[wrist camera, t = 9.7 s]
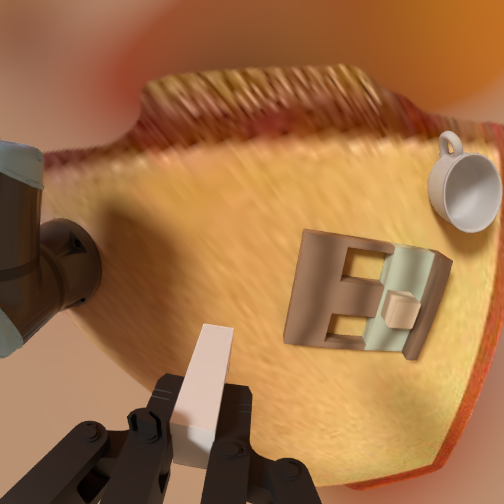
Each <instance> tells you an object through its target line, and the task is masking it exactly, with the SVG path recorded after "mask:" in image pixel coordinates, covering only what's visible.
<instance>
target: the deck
mask: <svg viewBox="0 0 504 504" xmlns="http://www.w3.org/2000/svg"><path fill="white" fill-rule="evenodd" d="M348 247H352V248H359V249H365V250H372V251H378V252H385V253H386V257H385V261H384V265H383V268H382V272H381V276H380V280H374V279H366V278H358V277H350V276H342V271H343V266H344V262H345V258H346V253H347V249H348ZM452 263H453V261H452V260H451V259H449V258H448V257H446V256H445V255H443V254H442V253H440V252H438V251H436V250H431V249H425V248H420V247H414V246H408V245H403V244H397V243H391V242H385V241H379V240H373V239H367V238H361V237H355V236H348V235H342V234H336V233H329V232H323V231H316V230H309V229H303V234H302V240H301V245H300V251H299V256H298V262H297V267H296V273H295V278H294V283H293V288H292V293H291V298H290V303H289V308H288V313H287V318H286V323H285V328H284V333H283V340H284V344H294V345H304V346H315V347H327V348H340V349H356V350H376V351H401V352H402V353H403V355H404V357H405V358H406V360H417V358H418V356H419V353H420V351H421V349H422V347H423V344H424V342H425V339H426V337H427V335H428V332H429V330H430V327H431V325H432V322H433V320H434V317H435V314H436V312H437V309H438V306H439V303H440V300H441V298H442V295H443V292H444V289H445V286H446V283H447V279H448V276H449V273H450V270H451V266H452ZM387 290H395V291H404V292H410V293H411V294H412V295H413V296H414V297H415V298H416V299H417V300H418V301H419V302H420V303H421V306H420V309H419V312H418V314H417V317H416V320H415V322H414V325H413V328H412V329H405V328H389V327H388V326H387V324H386V323H385V321H384V319H383V318H382V316H381V315H380V312H381V309H382V306H383V303H384V300H385V296H386V293H387ZM332 313H335V314H345V315H355V316H367V317H368V320H367V323H366V326H365V329H364V332H363V335H362V336H350V335H338V334H326V333H327V329H328V326H329V322H330V318H331V315H332Z"/></svg>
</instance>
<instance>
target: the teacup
mask: <svg viewBox="0 0 504 504" xmlns="http://www.w3.org/2000/svg"><path fill="white" fill-rule="evenodd" d="M448 141H449V142H450V143H451V145H452V147H453V150H454V153H449V148H448ZM439 148H440V153H439V156H440V159H439V160H438V161H437V162H436V163H435V164H434V166H433V168H432V169H431V172H430V174H429V178H428V195H429V199H430V202H431V204H432V206H433V208H434V210H435V211H436V212H437V213H438V214H439V215H440V216H441V217H442V218H443V219H444V220H446V221H447V222H449V223H451V224H452V225H454V226H455V227H456V228H457V229H459V230H461V231H463V232H465V233H476V232H479V231H482V230H484V229H485V228H487V227H488V226H489V225H490V224H491V223H492V222H493V220H494V219H495V218H496V216H497V214H498V212H499V209H500V206H501V201H502V190H503V189H502V181H501V177H500V174H499V172H498V170H497V168H496V166H495V165H494V163H493V162H492V161H491V160H490V159H489V158H488V157H486V156H484V155H482V154H479V153H464V152H463V146H462V143H461V141H460V139H459V137H458V136H457V135H456V134H455V133H453V132H451V131H445V132H444V133H442V134H441V135H440V137H439Z"/></svg>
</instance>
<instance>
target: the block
mask: <svg viewBox="0 0 504 504" xmlns="http://www.w3.org/2000/svg"><path fill="white" fill-rule="evenodd" d="M420 306H421V303H420V302H419V301H418V300H417V299H416V298H415V297H414V296H413V295H412V294H411V293H410V292H404V291H395V290H387V293H386V296H385V300H384V303H383V306H382V309H381V312H380V315H381V316H382V318H383V319H384V321H385V323H386V324H387V326H388V327H389V328H405V329H412V328H413V325H414V322H415V320H416V317H417V314H418V312H419V309H420Z"/></svg>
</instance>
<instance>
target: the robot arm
mask: <svg viewBox="0 0 504 504" xmlns="http://www.w3.org/2000/svg"><path fill="white" fill-rule="evenodd" d="M43 171H44V157H43V154H42V153H41V151H40V150H39V149H37V148H35V147H33V146H29V145H24V144H20V143H15V142H9V141H3V140H0V358H5V357H8V356H9V355H11V354H12V353H13V352H14V351H15V350H16V349H19V348H21V347H22V346H23V345H24V344H25V343H26V342H27V341H28V340H29V339H30V338H31V337H32V336H33V335H34V334H35V333H36V332H37V331H38V330H39V329H40V328H41V327H42V326H43V325H45V324H46V323H47V322H48V321H49V320H50V319H51V318H52V317H53V316H54V315H55V314H56V313H58V312H59V311H63V310H67V309H71V308H75V307H78V306H81V305H83V304H84V303H86V302H87V301H88V300H89V299H90V298H91V297H92V296H93V295H94V294H95V293H96V291H97V290H98V287H99V285H100V281H101V262H100V258H99V254H98V251H97V249H96V247H95V245H94V243H93V241H92V239H91V238H90V236H89V235H88V234H87V233H86V231H85V230H84V229H83V228H82V227H80V226H79V225H78V224H76V223H75V222H73V221H70V220H68V219H63V218H58V219H53V220H50V221H48V222H45V223H43V224H42V225H40V217H41V202H42V191H43V190H44V185H43ZM233 332H234V328H230V327H224V326H217V325H211V324H203V327H202V330H201V333H200V336H199V338H198V341H197V344H196V347H195V350H194V353H193V355H192V358H191V361H190V364H189V367H188V370H187V373H186V375H185V377H182V376H177V375H172V374H167V373H166V374H165V375H164V376H162V377H161V378H160V379H159V380H158V382H157V384H156V386H155V389H154V391H153V393H152V396H151V398H150V400H149V402H148V404H147V407H146V408H139V409H135V410H134V411H132V412H130V414H129V415H128V416H127V419H128V424H129V428H130V429H129V430H125V431H109V430H106V429H105V427H104V426H103V425H102V424H100V423H98V422H95V421H85V422H81V423H80V424H78V425H77V426H75V427H74V428H73V429H72V430H71V431H70V432H69V433H68V434H67V435H66V436H65V437H64V438H63V439H62V440H61V441H60V442H59V443H58V444H57V445H56V446H55V447H54V448H53V449H52V450H51V451H50V452H49V453H48V454H47V455H45V456H44V457H43V458H42V459H41V460H40V461H39V462H38V463H37V464H36V465H35V466H34V467H33V468H32V469H31V470H30V471H29V472H28V473H27V474H26V475H25V476H24V477H23V478H22V479H21V480H19V482H17V483H16V485H14V486H13V487H12V488H11V489H10V490H9V491H8V492H7V493H6V494H5V495H4V496H3V497H2V498H1V499H0V504H97V503H98V502H99V501H100V500H101V501H100V504H163V500H164V497H165V493H166V489H167V485H168V482H169V478H170V466H171V462H172V459H173V463H176V464H180V465H185V466H190V467H196V468H201V469H207V471H206V476H205V482H204V488H203V493H202V498H201V503H200V504H246V501H247V502H249V503H252V504H322V503H321V500H320V498H319V496H318V493H317V491H316V489H315V486H314V483H313V481H312V478H311V476H310V474H309V471H308V469H307V467H306V466H305V465H304V464H303V463H302V462H300V461H299V460H296V459H293V458H282V459H279V460H276V461H273V460H270V459H267V458H264V457H262V456H260V455H258V454H257V453H256V452H255V451H254V450H253V449H252V447H251V445H250V425H251V411H252V396H253V395H252V393H251V391H250V389H249V387H248V386H242V385H235V384H228V383H227V378H228V372H229V365H230V357H231V348H232V340H233Z"/></svg>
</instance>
